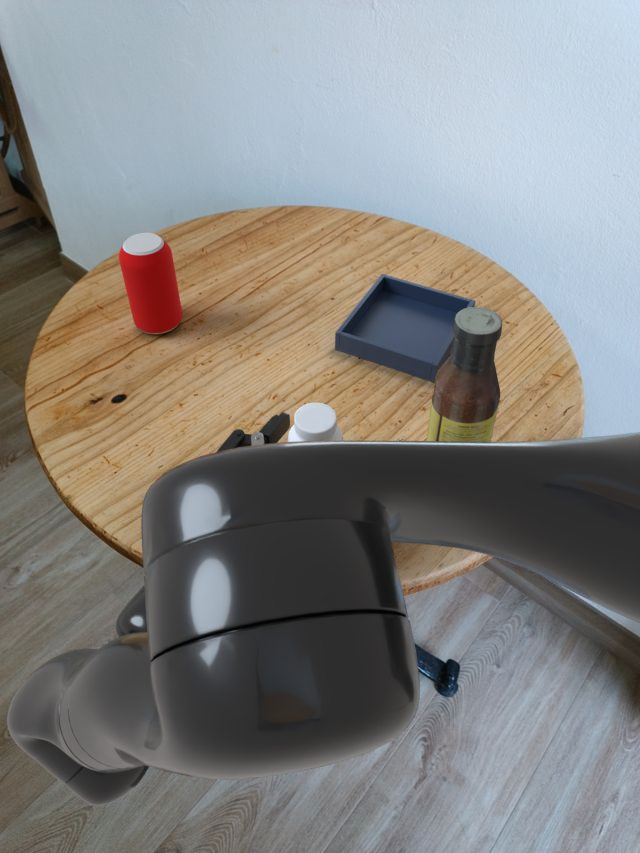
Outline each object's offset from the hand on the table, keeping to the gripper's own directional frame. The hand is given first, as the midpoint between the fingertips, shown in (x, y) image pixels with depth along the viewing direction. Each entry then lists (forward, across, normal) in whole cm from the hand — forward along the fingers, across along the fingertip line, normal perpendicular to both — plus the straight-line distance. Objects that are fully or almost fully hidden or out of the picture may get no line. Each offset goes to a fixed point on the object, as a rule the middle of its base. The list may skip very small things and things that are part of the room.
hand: (323, 435), depth 68 cm
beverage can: (+10, +31, +6) cm, 33 cm away
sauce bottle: (+7, -11, +6) cm, 15 cm away
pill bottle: (-1, 0, +6) cm, 6 cm away
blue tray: (+26, +3, +6) cm, 26 cm away
